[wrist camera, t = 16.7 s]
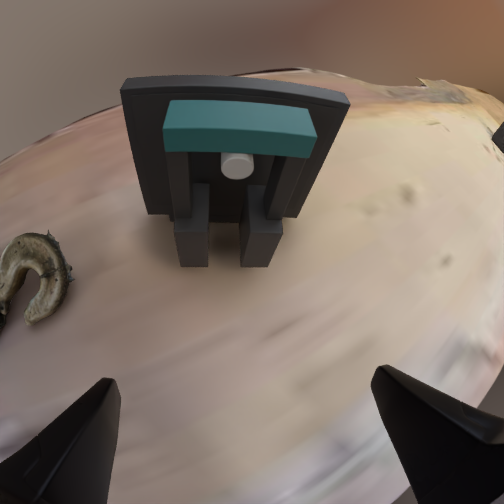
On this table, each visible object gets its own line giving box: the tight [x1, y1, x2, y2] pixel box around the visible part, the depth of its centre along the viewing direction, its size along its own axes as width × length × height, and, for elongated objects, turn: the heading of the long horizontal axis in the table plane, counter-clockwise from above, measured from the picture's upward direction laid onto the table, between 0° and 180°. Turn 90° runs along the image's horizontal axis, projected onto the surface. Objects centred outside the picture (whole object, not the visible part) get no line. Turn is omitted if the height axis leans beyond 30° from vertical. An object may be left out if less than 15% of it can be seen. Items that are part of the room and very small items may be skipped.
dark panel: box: [120, 75, 350, 223], centre depth 21 cm, size 13×14×14 cm
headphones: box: [162, 100, 317, 267], centre depth 18 cm, size 4×7×13 cm, turn 93°
